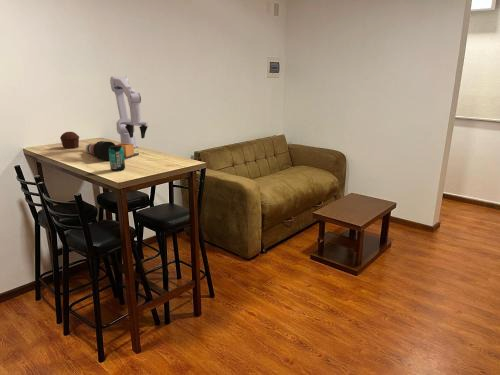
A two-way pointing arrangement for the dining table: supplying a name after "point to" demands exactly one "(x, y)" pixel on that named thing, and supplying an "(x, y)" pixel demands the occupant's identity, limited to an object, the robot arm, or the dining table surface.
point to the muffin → (70, 140)
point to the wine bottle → (100, 149)
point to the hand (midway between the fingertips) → (137, 137)
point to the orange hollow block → (127, 149)
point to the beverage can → (116, 158)
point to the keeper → (131, 156)
